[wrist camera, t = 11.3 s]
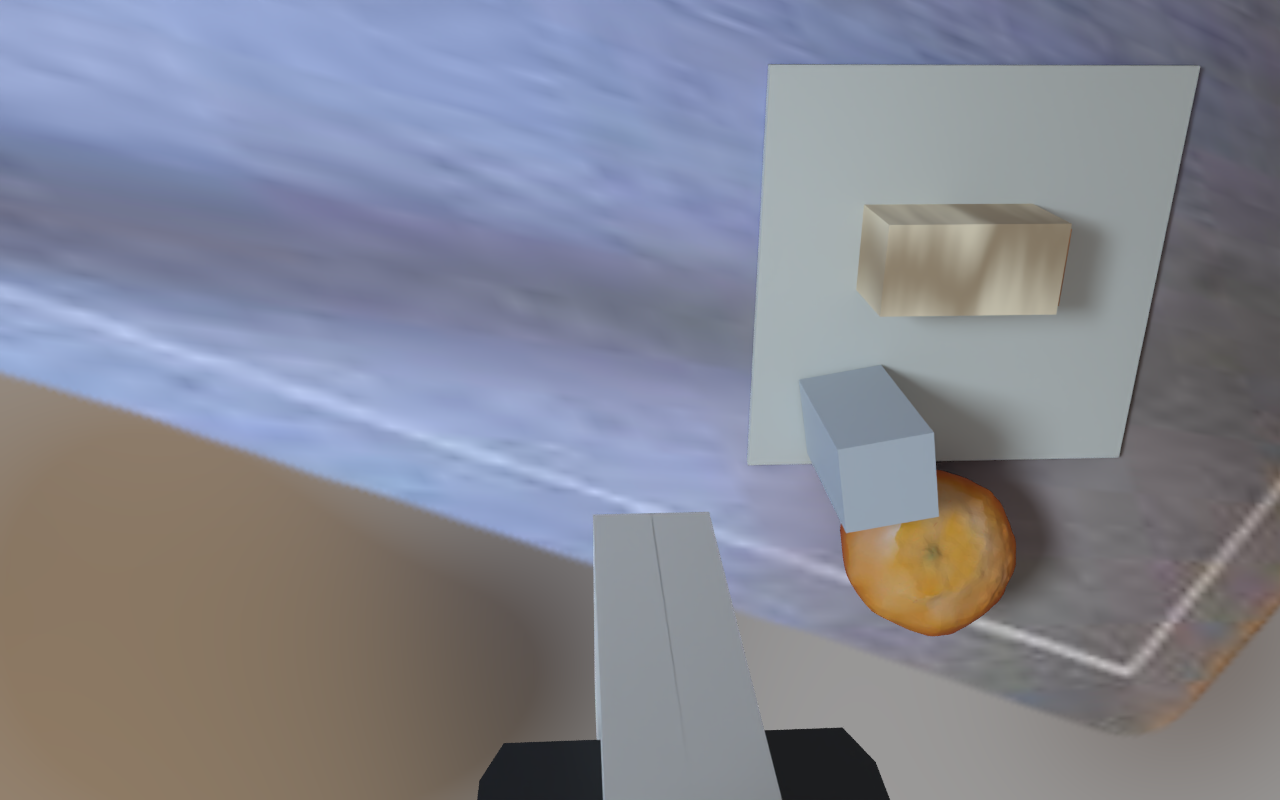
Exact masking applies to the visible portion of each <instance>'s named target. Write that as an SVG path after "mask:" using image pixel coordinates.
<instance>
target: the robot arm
mask: <svg viewBox="0 0 1280 800" xmlns="http://www.w3.org/2000/svg"><path fill="white" fill-rule="evenodd" d="M593 552H594V637H595V698H596V699H595V701H596V730H597V740H581V741H580V740H579V741H554V742H553V741H552V742H527V743H526V742H525V743H504V744H503V745H502V747H501V749H500V750H499V752H498V753H497V755H496V756H495V758H494V759H493V761H492V762H491V764H490V765H489V767H488V768H487V770H486V772H485V773H484V775H483V776H482V778H481V779H480V781H479V790H478V799H477V800H890V799H889V796H888V793H887V791H886V788H885V786H884V783H883V780H882V778H881V775H880V773H879V770H878V767H877V765H876V762H875V761H874V760H873V759H872V758H871V757H870V756H869V755H868V754H867V753H866V752H865V751H864V750H863V749H862V748H861V746H860V745H859V744H858V743H857V742H856V741H855V740H854V739H853V738H852V737H851V736H850V735H849V734H848V733H847V732H846V731H845V730H844V729H843V728H820V729H792V730H764V727H763V723H762V719H761V715H760V712H759V707H758V704H757V700H756V696H755V692H754V688H753V684H752V680H751V676H750V672H749V668H748V664H747V660H746V656H745V652H744V649H743V644H742V641H741V637H740V633H739V629H738V625H737V621H736V617H735V613H734V609H733V605H732V601H731V597H730V593H729V589H728V585H727V581H726V577H725V573H724V570H723V566H722V562H721V558H720V554H719V550H718V546H717V542H716V538H715V534H714V530H713V526H712V522H711V518H710V514H709V512H688V513H645V514H603V515H593Z"/></svg>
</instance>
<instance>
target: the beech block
mask: <svg viewBox="0 0 1280 800" xmlns="http://www.w3.org/2000/svg"><path fill="white" fill-rule="evenodd" d="M1071 226H1072V224H1071V223H1069V222H1068V221H1066V220H1064V219H1062V218H1060V217H1058V216H1056V215H1054V214H1052V213H1050V212H1048V211H1046V210H1044V209H1042V208H1040V207H1038V206H1036V205H1034V204H877V205H864V211H863V222H862V232H861V243H860V254H859V265H858V276H857V286H856V290H857V291H858V293H859V294H860V295H861V296H862V297H863V298H864V299H865V300H866V302H867V303H868V304H869V305H870V306H871V307H872V308H873V310H874V311H875V312H876V313H877V314H878V315H879V316H880V317H901V316H983V315H1056V313H1057V307H1058V306H1059V302H1060V296H1061V291H1062V285H1063V279H1064V273H1065V268H1066V262H1067V256H1068V250H1069V244H1070V239H1071V233H1072V229H1071Z"/></svg>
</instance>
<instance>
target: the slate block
mask: <svg viewBox="0 0 1280 800" xmlns="http://www.w3.org/2000/svg"><path fill="white" fill-rule="evenodd" d="M799 386H800V395H801V403H802V412H803V421H804V429H805V438H806V447H807V454H808V456H809V458H810V460H811V462H812V464H813V466H814V468H815V470H816V472H817V474H818V476H819V478H820V481H821V483H822V485H823V487H824V489H825V491H826V493H827V495H828V497H829V499H830V501H831V503H832V505H833V507H834V509H835V511H836V513H837V515H838V517H839V520H840V522H841V524H842V526H843V528H844V530H845V532H846V533H850V532H856V531H861V530H867V529H872V528H878V527H884V526H889V525H895V524H900V523H906V522H912V521H917V520H923V519H928V518H934V517H939V509H938V492H937V476H936V459H935V442H934V432H933V431H932V429H931V428H930V427H929V426H928V424H927V423H926V422H925V421H924V419H923V418H922V417H921V415H920V414H919V413H918V412H917V410H916V409H915V408H914V406H913V405H912V404H911V403H910V401H909V400H908V399H907V397H906V396H905V395H904V394H903V392H902V391H901V390H900V389H899V387H898V386H897V385H896V383H895V382H894V381H893V380H892V378H891V377H890V376H889V374H888V373H887V372H886V371H885V369H884V368H883V367H882V365H877V366H872V367H866V368H861V369H855V370H850V371H844V372H839V373H833V374H827V375H822V376H816V377H811V378H805V379H800V380H799Z"/></svg>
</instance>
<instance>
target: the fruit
mask: <svg viewBox="0 0 1280 800" xmlns="http://www.w3.org/2000/svg"><path fill="white" fill-rule="evenodd" d="M936 476H937V492H938V509H939V517H934V518H928V519H923V520H917V521H912V522H906V523H900V524H895V525H889V526H884V527H878V528H872V529H867V530H861V531H856V532H850V533H846V532H845V530H844V528H843V526H842V524H841V528H840V533H841V543H842V553H843V561H844V566H845V570H846V574H847V576H848V579H849V581H850V583H851V584H852V586H853V587H854V589H855V591H856V592H857V594H858V595H859V596H860V598H861V599H862V600H863V602H864V603H865V604H866V605H867V606H868V607H869V608H870V609H871V611H873V612H874V613H876V614H877V615H879V616H881V617H883V618H885V619H887V620H889V621H891V622H893V623H895V624H897V625H899V626H902V627H904V628H906V629H908V630H911V631H914V632H917V633H920V634H924V635H927V636H941V635H948V634H952V633H954V632H956V631H958V630H960V629H962V628H964V627H966V626H967V625H969V624H971V623H972V622H974V621H975V620H977V619H978V618H980V617H981V616H983V615H984V614H985V613H986V612H988V611H989V610H990V609H991V608H992V607H993V606H994V605H995V604H996V603H997V602H998V601H999V600H1000V598H1001V597H1002V595H1003V594H1004V591H1005V588H1006V586H1007V584H1008V582H1009V580H1010V578H1011V576H1012V574H1013V572H1014V569H1015V565H1016V541H1015V537H1014V535H1013V533H1012V530H1011V526H1010V523H1009V521H1008V519H1007V516H1006V514H1005V511H1004V509H1003V507H1002V505H1001V503H1000V501H999V500H998V499H997V498H996V497H995V496H994V495H993V493H992V492H991V491H990V490H988V489H986V488H984V487H982V486H980V485H978V484H976V483H974V482H973V481H971V480H969V479H967V478H964V477H961V476H958V475H955V474H951V473H948V472H945V471H941V470H936Z"/></svg>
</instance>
